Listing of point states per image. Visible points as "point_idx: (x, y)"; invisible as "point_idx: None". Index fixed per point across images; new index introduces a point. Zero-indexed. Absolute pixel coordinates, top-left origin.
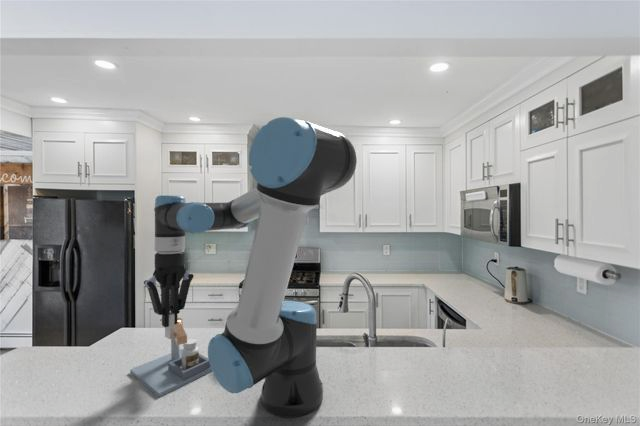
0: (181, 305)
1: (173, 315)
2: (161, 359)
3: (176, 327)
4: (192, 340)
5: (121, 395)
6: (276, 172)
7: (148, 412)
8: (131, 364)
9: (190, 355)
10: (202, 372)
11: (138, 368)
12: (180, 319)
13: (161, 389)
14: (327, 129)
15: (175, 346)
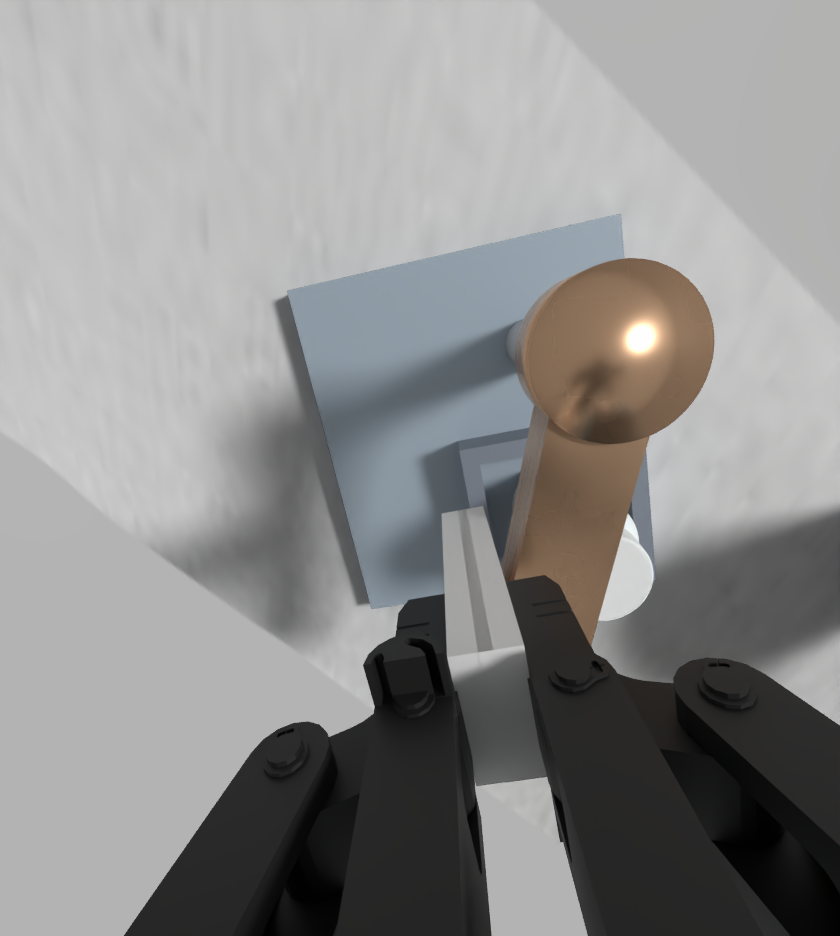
0: (734, 869)
1: (527, 766)
2: (460, 285)
3: (555, 553)
4: (624, 578)
5: (245, 484)
6: None
7: (324, 657)
8: (308, 175)
9: None
10: None
11: (327, 312)
12: (687, 364)
13: (386, 588)
14: None
15: None
